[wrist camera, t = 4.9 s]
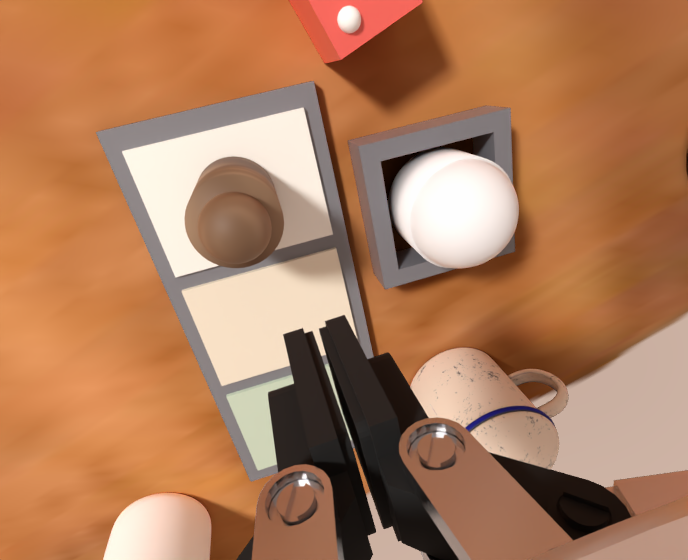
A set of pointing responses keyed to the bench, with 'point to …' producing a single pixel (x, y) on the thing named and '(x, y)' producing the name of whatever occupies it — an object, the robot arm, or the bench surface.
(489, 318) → the bench surface
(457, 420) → the teacup with lid
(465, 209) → the dome
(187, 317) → the game board
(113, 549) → the cup
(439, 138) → the dome housing
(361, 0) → the red die
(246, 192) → the pawn
